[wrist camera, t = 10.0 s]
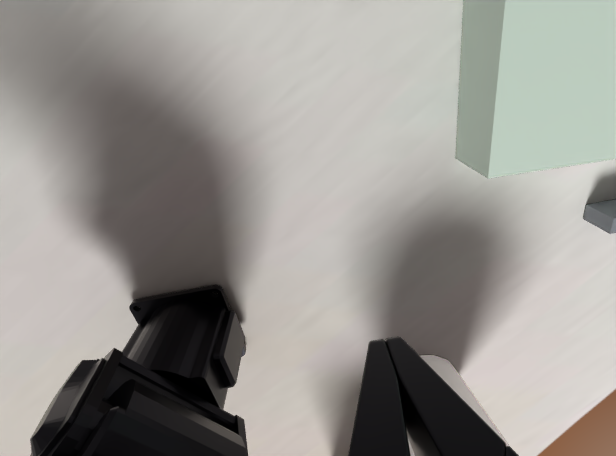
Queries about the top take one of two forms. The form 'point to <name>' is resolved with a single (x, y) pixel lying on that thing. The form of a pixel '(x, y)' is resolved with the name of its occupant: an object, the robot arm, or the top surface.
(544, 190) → the top surface
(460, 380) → the foam cup
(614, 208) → the stand
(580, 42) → the carton
